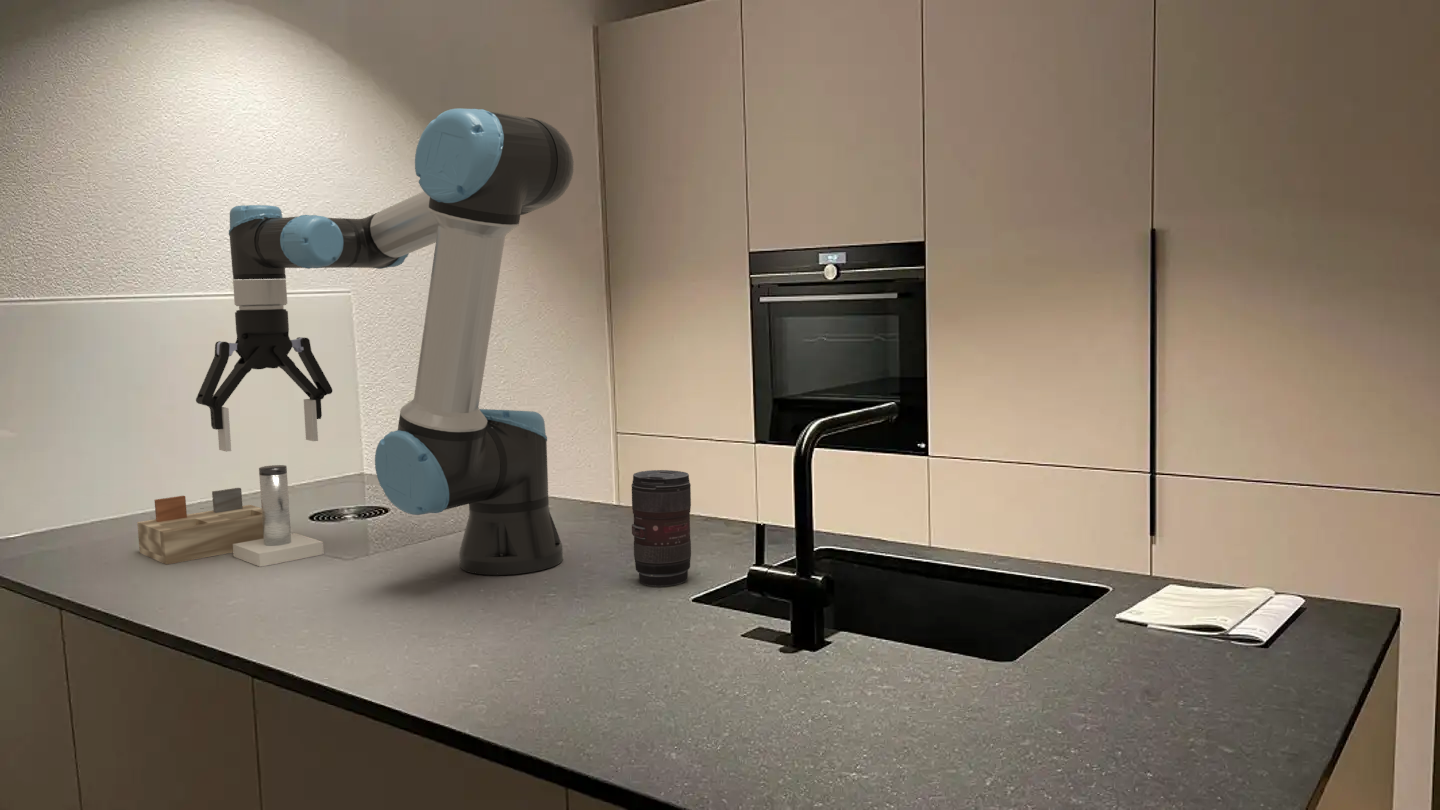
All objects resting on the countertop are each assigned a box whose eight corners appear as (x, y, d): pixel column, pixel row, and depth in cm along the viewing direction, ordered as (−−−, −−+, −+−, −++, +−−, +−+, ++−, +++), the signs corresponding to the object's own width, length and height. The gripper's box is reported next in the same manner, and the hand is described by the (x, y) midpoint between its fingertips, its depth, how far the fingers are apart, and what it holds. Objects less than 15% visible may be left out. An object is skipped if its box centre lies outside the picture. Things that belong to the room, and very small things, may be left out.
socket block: (281, 543, 184) (278, 492, 183) (166, 564, 171) (161, 510, 171) (251, 533, 193) (248, 484, 192) (139, 552, 180) (135, 500, 179)
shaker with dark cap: (295, 542, 175) (290, 466, 174) (270, 547, 173) (265, 470, 171) (284, 538, 178) (279, 464, 177) (259, 543, 175) (254, 467, 174)
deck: (323, 554, 176) (322, 541, 175) (260, 566, 169) (259, 553, 168) (295, 545, 183) (294, 533, 182) (233, 556, 176) (232, 544, 175)
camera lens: (685, 589, 150) (682, 478, 149) (627, 587, 152) (623, 478, 150) (699, 573, 158) (696, 468, 156) (643, 572, 160) (640, 468, 158)
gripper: (327, 305, 183) (334, 434, 185) (166, 310, 165) (176, 452, 168) (349, 305, 178) (356, 438, 180) (185, 310, 160) (195, 457, 163)
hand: (269, 445), depth 174 cm, fingers open, 13 cm apart
